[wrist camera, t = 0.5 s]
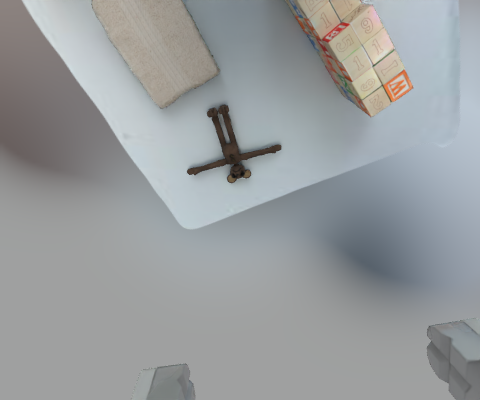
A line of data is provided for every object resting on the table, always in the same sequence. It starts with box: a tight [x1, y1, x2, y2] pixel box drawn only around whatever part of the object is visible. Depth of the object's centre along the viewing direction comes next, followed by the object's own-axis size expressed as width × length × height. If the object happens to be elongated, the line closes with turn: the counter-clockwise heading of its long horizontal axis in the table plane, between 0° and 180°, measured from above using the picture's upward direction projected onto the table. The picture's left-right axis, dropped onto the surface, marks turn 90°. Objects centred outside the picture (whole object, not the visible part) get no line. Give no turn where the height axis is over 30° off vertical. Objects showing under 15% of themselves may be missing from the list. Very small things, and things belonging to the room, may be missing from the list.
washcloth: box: [92, 0, 220, 109], centre depth 45 cm, size 12×18×3 cm, turn 29°
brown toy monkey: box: [187, 105, 281, 183], centre depth 55 cm, size 18×4×14 cm
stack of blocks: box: [285, 0, 413, 117], centre depth 42 cm, size 21×6×12 cm, turn 39°
